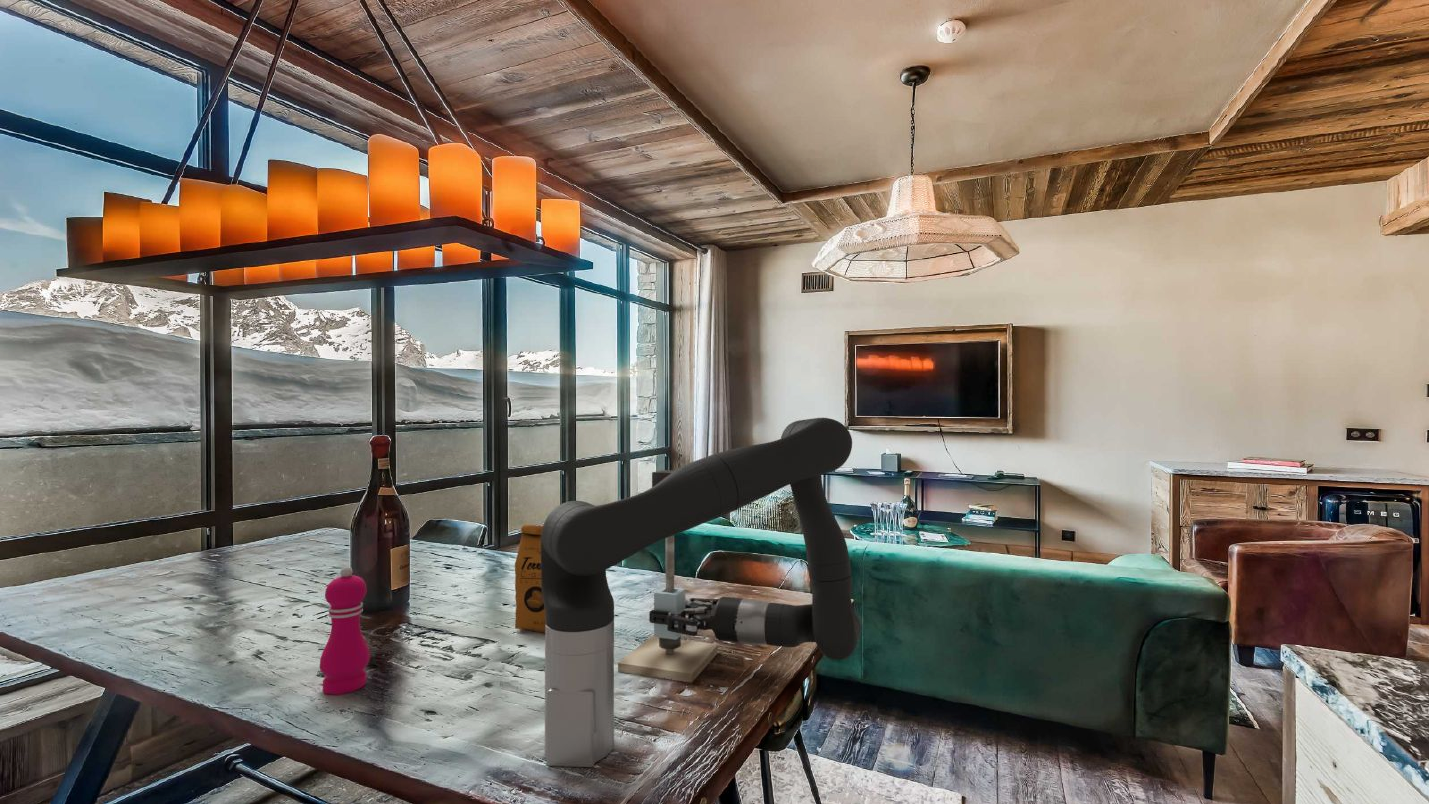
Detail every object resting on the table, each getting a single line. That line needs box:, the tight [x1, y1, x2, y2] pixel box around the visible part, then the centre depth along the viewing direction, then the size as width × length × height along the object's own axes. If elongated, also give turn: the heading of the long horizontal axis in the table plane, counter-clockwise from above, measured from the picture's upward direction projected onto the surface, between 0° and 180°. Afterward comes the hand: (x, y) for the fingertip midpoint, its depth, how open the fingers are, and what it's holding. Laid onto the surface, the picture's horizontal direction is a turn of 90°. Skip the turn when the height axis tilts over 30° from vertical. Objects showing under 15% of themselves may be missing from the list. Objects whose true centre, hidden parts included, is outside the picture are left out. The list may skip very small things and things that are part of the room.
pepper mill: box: [319, 566, 371, 695], centre depth 102 cm, size 7×7×20 cm
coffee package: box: [514, 524, 545, 634], centre depth 130 cm, size 10×12×22 cm
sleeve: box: [653, 586, 686, 640], centre depth 112 cm, size 4×4×8 cm
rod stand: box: [617, 469, 719, 683], centre depth 112 cm, size 14×14×35 cm
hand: (657, 611), depth 113 cm, fingers open, 5 cm apart
